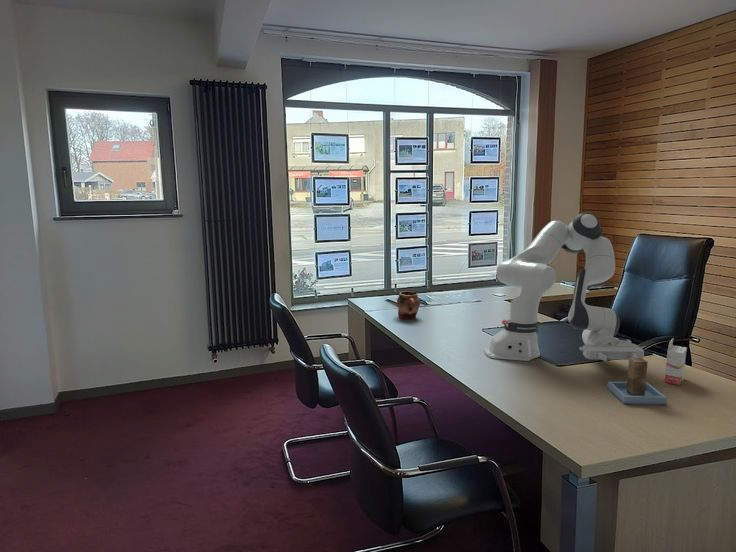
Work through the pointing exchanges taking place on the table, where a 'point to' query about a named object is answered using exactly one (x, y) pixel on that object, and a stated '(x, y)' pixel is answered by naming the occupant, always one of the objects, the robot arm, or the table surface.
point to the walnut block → (637, 377)
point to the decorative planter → (408, 305)
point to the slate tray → (650, 396)
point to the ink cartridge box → (675, 364)
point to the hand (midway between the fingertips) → (621, 359)
